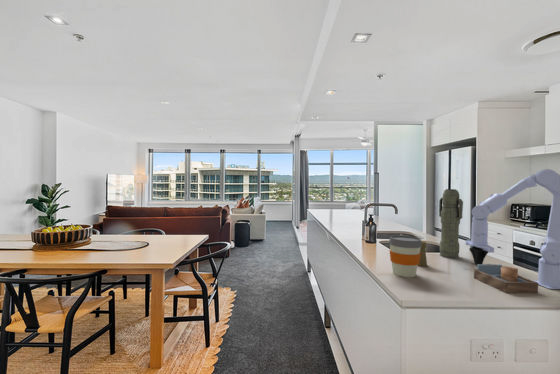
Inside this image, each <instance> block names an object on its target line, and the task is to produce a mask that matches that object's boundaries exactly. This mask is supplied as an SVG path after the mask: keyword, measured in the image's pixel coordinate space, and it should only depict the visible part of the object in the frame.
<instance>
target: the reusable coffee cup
mask: <svg viewBox="0 0 560 374" xmlns="http://www.w3.org/2000/svg"><path fill="white" fill-rule="evenodd" d="M388 240H389V241H388V244H389V248H390V249H389V258H390V262H391V266H392V274H393V273H394V275H396V276H398V277H402V276H403V278H414V277H416V276H417V271H418V267H419V266H418V264H419V260H420V254H421V253H420V248H421V246H422V245H421V241H422V239H421V238H419V237H417V236H412V235H399V234H398V235H391V236H389V239H388Z"/></svg>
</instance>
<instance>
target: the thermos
mask: <svg viewBox="0 0 560 374" xmlns="http://www.w3.org/2000/svg"><path fill="white" fill-rule="evenodd" d="M438 207H439V208H438V214H439V215H438V216H439V218H440V223H441V226H440V227H441V229H440V230H441V235H440V236H441V237H440V242H439V256H440V257H443V258H447V259H458V258H459V256H460V255H459V254H460V243H459V237H460V235H459V233H460V225H461V219H463V210H464V209H463V208H464V201H463V200H462V198H460V192H459V191H458V189H454V188H453V189H452V188H446V189H444V190H443V193H442V197H440V199H439V205H438Z"/></svg>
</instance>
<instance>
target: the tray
mask: <svg viewBox="0 0 560 374" xmlns="http://www.w3.org/2000/svg"><path fill="white" fill-rule="evenodd" d="M502 266H503V265H502V264H490V263H489V264H477V266H476V269H477V270H479V271H481V272H484V273H486V274H488V275H491V276H493V277H495V278H498V279H500V280H502V279H501V267H502ZM502 281H505V280H502ZM505 282H507V281H505ZM518 282H527V281H525V280H522V279H519V278H518Z"/></svg>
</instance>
